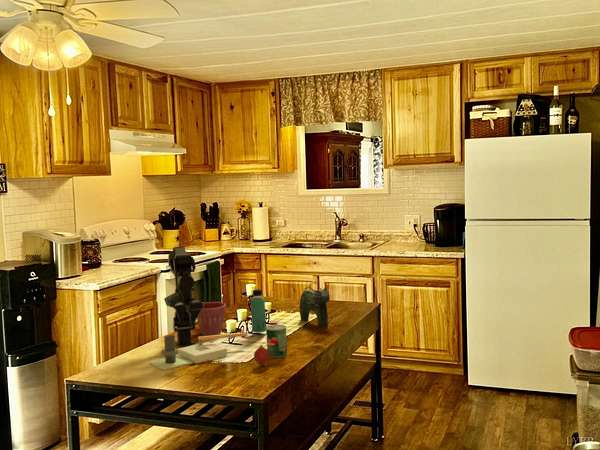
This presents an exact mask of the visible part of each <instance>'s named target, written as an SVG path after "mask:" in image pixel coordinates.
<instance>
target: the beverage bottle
mask: <svg viewBox="0 0 600 450" xmlns="http://www.w3.org/2000/svg"><path fill="white" fill-rule="evenodd" d="M261 295H263V291H262V289H259V288H258V289H253V290H252V296H254V297H252V298H250V309H251V310H250V311H251V312H250V313H251V314H250V315H251V316H250V318H251V330H252V332H253V333H256V334H257V333H264V332H266V327H267V317H266V316H267V315H266V301H265V298H264V297H262V296H261Z"/></svg>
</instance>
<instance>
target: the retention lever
mask: <svg viewBox="0 0 600 450" xmlns="http://www.w3.org/2000/svg"><path fill="white" fill-rule="evenodd" d="M238 337H240V338H241V337H248V332H247V331H246V332H237V333H235V332H234V333H225V334H216V335H201V336H198V337H197V340H198V341H199V340H203V341H207V340H218V339H219V340H220V339H228V338H230V339H231V338H238Z"/></svg>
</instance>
